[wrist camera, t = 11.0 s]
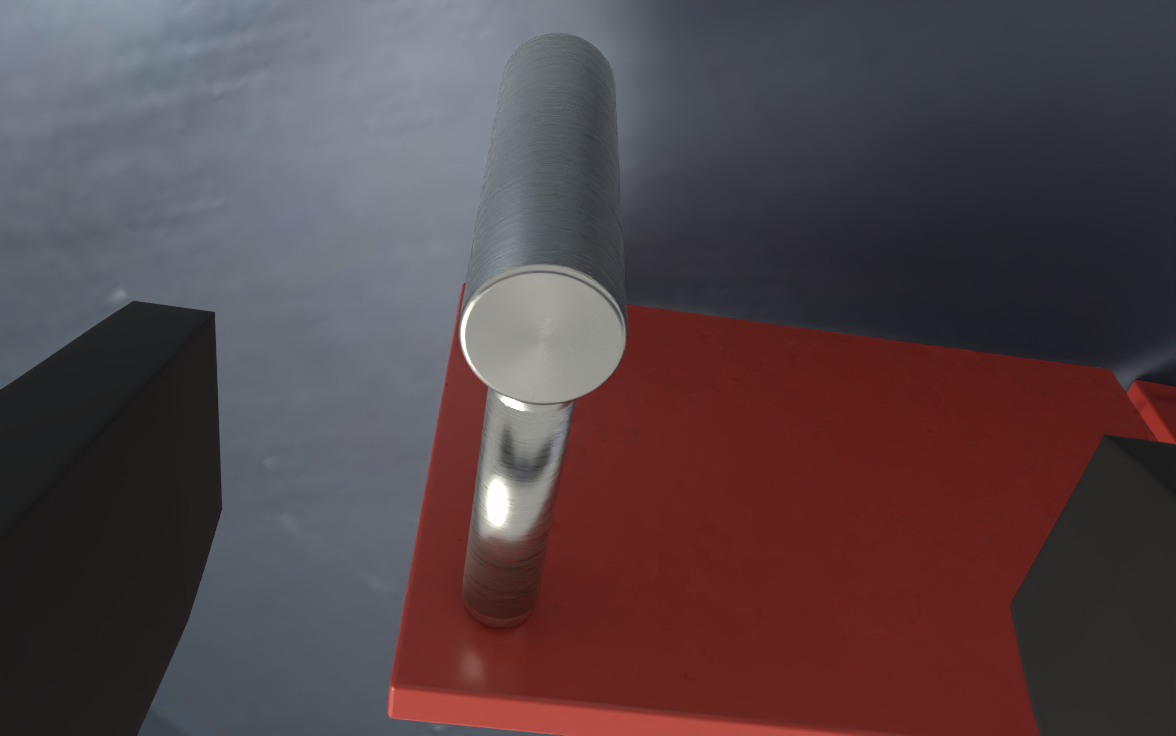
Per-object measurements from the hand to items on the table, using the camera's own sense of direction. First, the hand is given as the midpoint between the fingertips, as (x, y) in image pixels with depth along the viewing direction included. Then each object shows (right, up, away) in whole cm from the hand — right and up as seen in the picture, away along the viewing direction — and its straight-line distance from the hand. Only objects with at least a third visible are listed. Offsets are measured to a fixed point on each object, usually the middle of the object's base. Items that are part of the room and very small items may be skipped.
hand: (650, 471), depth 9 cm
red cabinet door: (+4, +3, +9) cm, 10 cm away
